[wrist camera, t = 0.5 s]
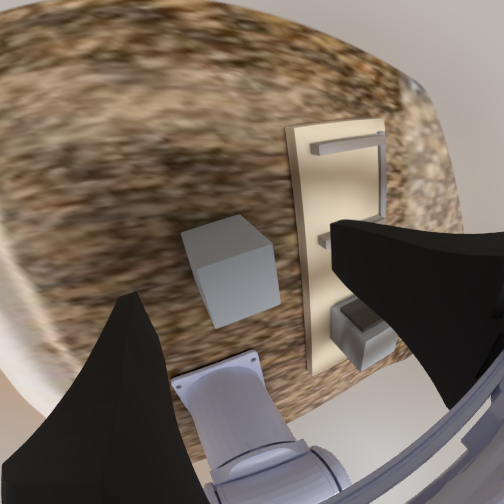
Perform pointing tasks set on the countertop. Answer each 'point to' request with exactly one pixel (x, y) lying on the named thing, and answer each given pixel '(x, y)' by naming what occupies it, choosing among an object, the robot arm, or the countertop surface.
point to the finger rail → (319, 242)
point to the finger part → (232, 269)
